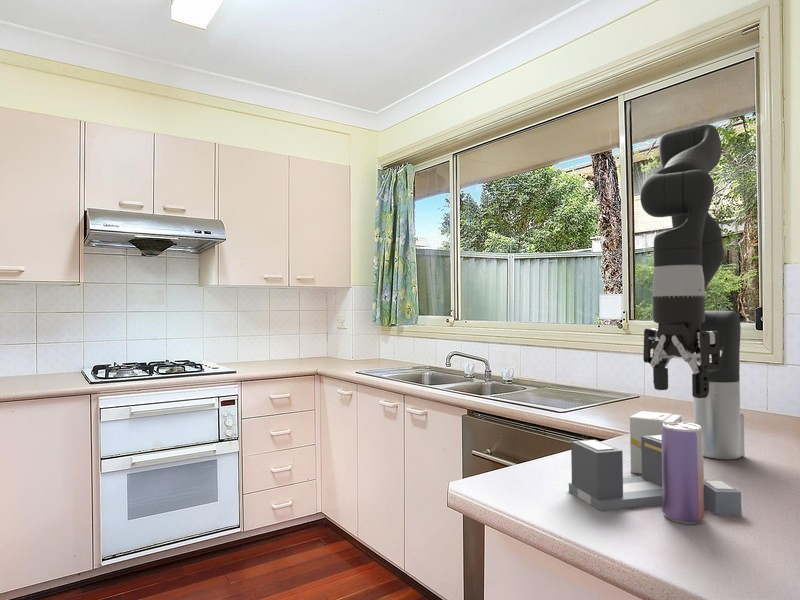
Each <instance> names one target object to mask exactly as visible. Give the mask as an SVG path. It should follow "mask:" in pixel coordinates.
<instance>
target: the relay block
mask: <svg viewBox="0 0 800 600" xmlns="http://www.w3.org/2000/svg"><path fill="white" fill-rule="evenodd" d="M706 507H707V508H708V509H707V508H706ZM704 508H706V509H707V510H709V511H710V513H712V512H713V513H712V514H714V515H715V516H727V515H733V516H734V515H736V517H737V516H738V517H739V516H740V517H742V491H739V490H738V489H737V488H735V487H734V486H732V485H731V484H729V483H728V482H726V481H724V480H723V479H704ZM734 517H735V516H734Z"/></svg>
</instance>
